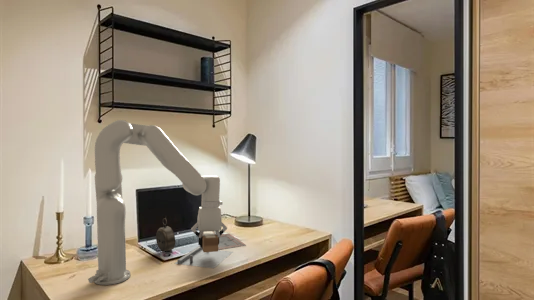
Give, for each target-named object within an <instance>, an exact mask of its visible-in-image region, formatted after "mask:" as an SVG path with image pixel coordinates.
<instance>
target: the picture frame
mask: <svg viewBox="0 0 534 300" xmlns="http://www.w3.org/2000/svg"><path fill="white" fill-rule="evenodd" d="M244 246H246V244H245V243H244V242H242V241H241V240H239V239H238V238H236V237H235V236H234V235H232V234H231V233H223V234H222V235H221V236H220V237H219V244H218V250H221V251H222V250H227V249H231V248H239V247H244Z"/></svg>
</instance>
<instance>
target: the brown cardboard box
mask: <svg viewBox="0 0 534 300" xmlns="http://www.w3.org/2000/svg"><path fill="white" fill-rule="evenodd" d="M218 242H219V238H218V236H217V235H216V232H215V231H207V232H203V235H202V250H203V252H216V251H218Z"/></svg>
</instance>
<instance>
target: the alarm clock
mask: <svg viewBox="0 0 534 300" xmlns="http://www.w3.org/2000/svg"><path fill="white" fill-rule="evenodd" d="M164 220H165V223H164V222H162V223H163V227H159V228H158V229H157V231H156V233H155V234H156V235H155V242H156V244H157V247H158V249H159V250H160V252H161V251H162V252H163V251H166V252H170V251H172V250H174V249H175V247H176V236H175V235H176V234H175V232H174V230H173V229H172V227H170V226H168V225H167V224H168V221H167V218H166V217H165V218H164V217H163V219H162V221H164ZM166 225H167V226H166Z"/></svg>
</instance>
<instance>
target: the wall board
mask: <svg viewBox="0 0 534 300" xmlns="http://www.w3.org/2000/svg"><path fill="white" fill-rule="evenodd" d="M232 253H233V251H227V250H222V249H221V250H218V251H216V252H203V250H202V248H201V247H200V245H198V246H196V247H195V248H194V249H192V250H191V251H189V252H187V253H186V254H185V255H183V256H181V257H180V258H178V259H177V260H176V262H174V264H175V265H184V266H191V267H200V268H209V269H215V268H217V267H218V266H219V265H220V264H221V263H223V261H224V260H226V259H227V258H228V257H229V256H230V255H232Z"/></svg>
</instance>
